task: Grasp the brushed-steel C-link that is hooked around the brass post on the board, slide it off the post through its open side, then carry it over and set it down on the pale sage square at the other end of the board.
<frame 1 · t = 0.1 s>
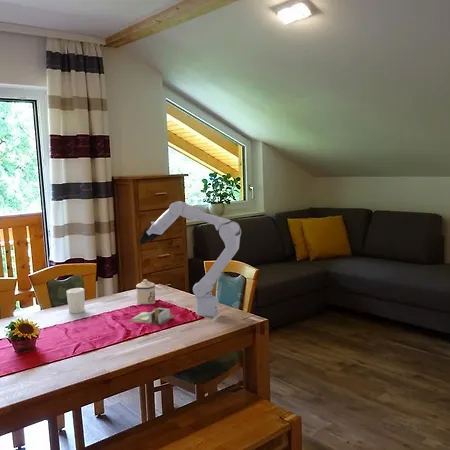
hand: (145, 241, 221), 32 cm above the table, tool tilted 50°, fingers open, 7 cm apart
c link: (159, 320, 208), point 1 cm above the table, touching board
board: (152, 320, 212), on the table
white cup: (76, 311, 227), on the table
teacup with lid: (147, 302, 237), on the table
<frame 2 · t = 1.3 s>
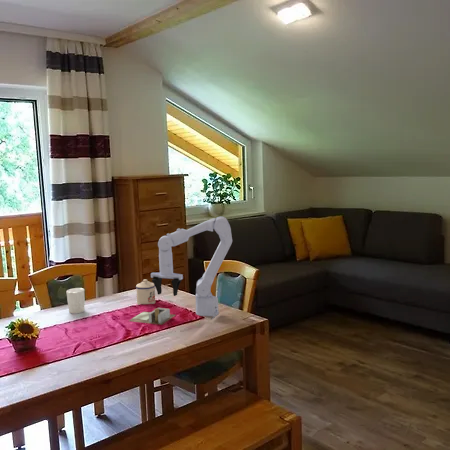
hand: (167, 294, 214), 10 cm above the table, tool pointing down, fingers open, 7 cm apart
nothing on the table moved.
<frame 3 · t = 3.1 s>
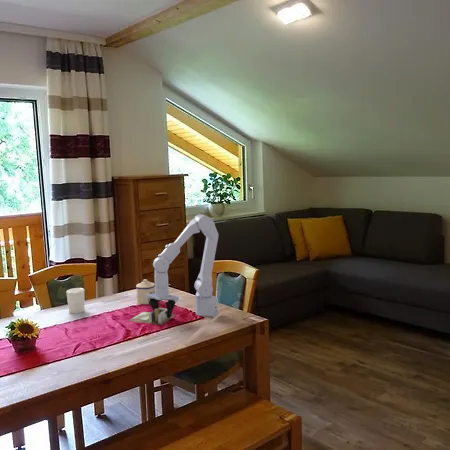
hand: (163, 316, 211), 2 cm above the table, tool pointing down, fingers closed on c link, 6 cm apart
c link: (159, 320, 208), point 1 cm above the table, touching board, gripper
everything else where it was.
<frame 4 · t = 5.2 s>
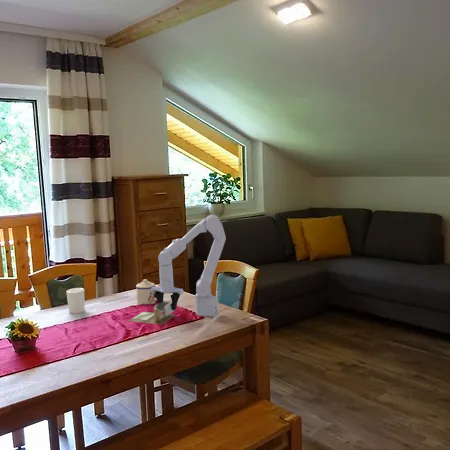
hand: (168, 308, 215), 4 cm above the table, tool pointing down, fingers closed on c link, 6 cm apart
c link: (164, 312, 212), point 3 cm above the table, touching gripper
everything else where it was.
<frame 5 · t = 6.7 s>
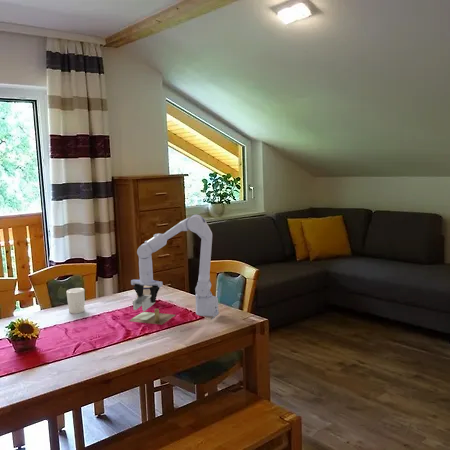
hand: (147, 301, 216), 7 cm above the table, tool pointing down, fingers closed on c link, 6 cm apart
c link: (143, 306, 213), point 5 cm above the table, tilted 5°, touching gripper
everything else where it was.
when the fingers open (3 cm above the table, at t = 7.8 s): c link stays where it is, resting on board.
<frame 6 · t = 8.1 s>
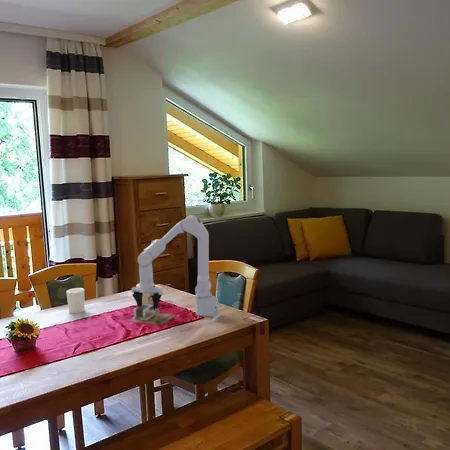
hand: (147, 309, 217), 3 cm above the table, tool pointing down, fingers open, 7 cm apart
c link: (144, 315, 214), point 1 cm above the table, touching board
everything else where it was.
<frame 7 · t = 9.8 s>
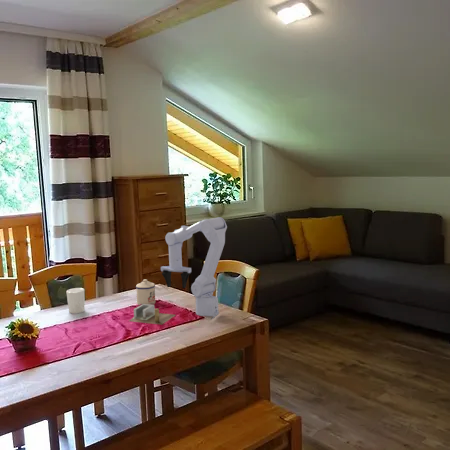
hand: (176, 287, 226), 10 cm above the table, tool pointing down, fingers open, 7 cm apart
nothing on the table moved.
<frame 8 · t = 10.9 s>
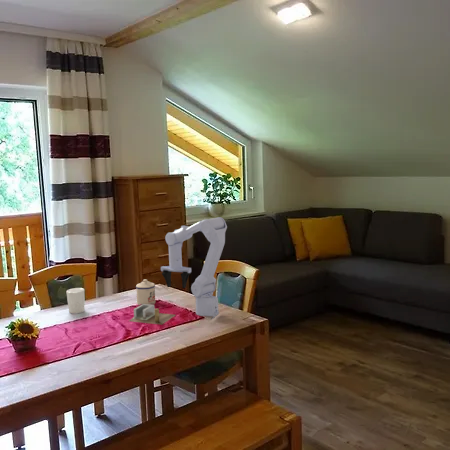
hand: (176, 287, 226), 10 cm above the table, tool pointing down, fingers open, 7 cm apart
nothing on the table moved.
at the end: c link inside the target area on the board (0.0 cm from its centre), point 1.1 cm above the board's base; c link tilted 0°; the gripper is holding nothing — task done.
